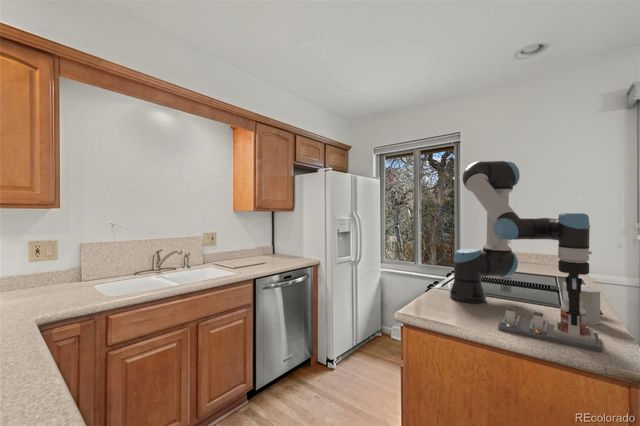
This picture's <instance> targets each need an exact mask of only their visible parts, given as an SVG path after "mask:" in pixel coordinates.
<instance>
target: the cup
mask: <svg viewBox="0 0 640 426" xmlns="http://www.w3.org/2000/svg"><path fill="white" fill-rule="evenodd" d="M580 300H581V301H582V302H583V306H582V308H584V309H585V311H586V325H592V326H597V325H598V324H599V325H600V324H601V290H600V289H597V288H593V287H591V286H589V287H583V286H581V293H580Z"/></svg>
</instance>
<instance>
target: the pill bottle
mask: <svg viewBox="0 0 640 426" xmlns="http://www.w3.org/2000/svg"><path fill="white" fill-rule="evenodd" d="M563 302H564V305H563V304H562V305H561V306H560V321H559V322H560V329H561V331H565V332H568V314H566V312H568V311H569V298H564V300H563V299H562V303H563ZM582 306H583V302H582V301H581V300H580V335H585V333H586V327H587V326H586V325H587V324H586V311H585V309H584V308H582ZM574 311H575V310H574Z"/></svg>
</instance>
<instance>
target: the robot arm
mask: <svg viewBox="0 0 640 426" xmlns="http://www.w3.org/2000/svg"><path fill="white" fill-rule="evenodd" d="M520 177H521V176H520V170H519V167H518V166H517V164H515V163H514V162H512V161H505V160H497V161H494V160H493V161H492V160H491V161H483V160H482V161H475V162H473V163H471V164H470V165H468V166H467V167H466V168H465V169H464V171H463V173H462V183H463V185H464V187H465V188H466V189H467V191H468V192H470V193H472V194H473V195H474V196H475V198H476V199H477V200H478V202H479V203H480V204H481V206H482V207H483V208H484V210H485V211H486V244H484V245H483V246H482V249H480V248H475V247H472V248H460V249H457V250H456V251H454V254H453V283H452V285H451V288H450V292H449V297H450V299H452V300H454V301H457V302H462V303H469V304H481V303H482V304H483V303H486V301H487V296H486V292H485V289H484V286H483V283H482V277H498V278H500V277H501V278H504V277H510V276H512V275H514V274H515V273H516V272H517V269H518V266H519V265H518V264H519V262H518V258H517V255H516V253H514V252H513V251H512V247H511V246H510V245H509V241H511V240H514V241H515V240H553V241H558V246H557V247H558V248H557V249H558V251H557V252H558V253H557V254H558V256H557V257H558V259H560V260H558V261H557V262H558V263H557V264H558V266H557V267H558V268H557V269H558V271H559V272H560V273H563V274H568V275H567V276H565V280H564V282H566V289H567V292H568V298H569V311H568V312H566V314H568V332H570V333H575V334H580V293H581V285H582V284H583V280H582V278H581V277H579V276H580V275H581V276H584V275H589V274H590V263H589V260H590V255H592V254H593V253H592V251H590V228H591V226H590V217H589V215H588V214H587V213H584V212H582V213H581V212H580V213H576V212H575V213H574V212H573V213H571V212H567V213H565V212H563V213H559V215H558V218H550V217H549V218H548V217H540V218H539V217H538V218H521V217H519V215H518V214H517V213H516V212H515V211H514V210H513V208H511V206H510V203H509V199H510V195H509V194H510V193H512V191H513V189H514V187H515V186H516V185H517V184H518V183H519V181H520ZM574 310H575V311H574Z"/></svg>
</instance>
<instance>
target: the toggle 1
mask: <svg viewBox="0 0 640 426" xmlns="http://www.w3.org/2000/svg"><path fill="white" fill-rule="evenodd" d="M505 314H506V322H508V323H513V324H514V323H515V315H516V307H510V306H506V307H505Z"/></svg>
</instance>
